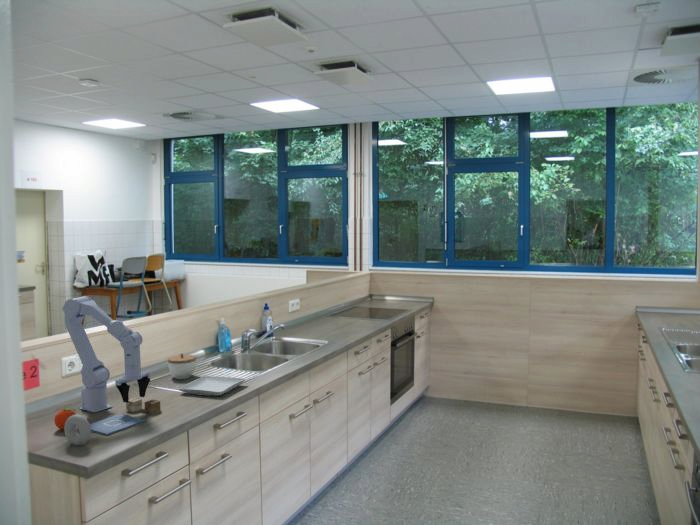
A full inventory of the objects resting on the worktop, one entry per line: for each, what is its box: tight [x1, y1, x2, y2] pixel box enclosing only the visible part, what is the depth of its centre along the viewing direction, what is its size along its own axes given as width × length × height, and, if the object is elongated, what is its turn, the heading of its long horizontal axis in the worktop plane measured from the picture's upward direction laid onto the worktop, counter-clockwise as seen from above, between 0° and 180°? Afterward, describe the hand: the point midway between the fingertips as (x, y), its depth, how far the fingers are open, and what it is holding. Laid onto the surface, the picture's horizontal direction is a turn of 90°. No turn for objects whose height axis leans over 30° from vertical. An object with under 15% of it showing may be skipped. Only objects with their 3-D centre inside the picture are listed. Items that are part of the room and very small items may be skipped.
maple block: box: [125, 397, 143, 413], centre depth 222 cm, size 4×4×4 cm
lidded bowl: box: [167, 353, 197, 380], centre depth 270 cm, size 13×13×11 cm
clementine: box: [54, 407, 77, 431], centre depth 202 cm, size 8×7×7 cm
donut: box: [63, 413, 92, 446], centre depth 186 cm, size 10×4×10 cm, turn 67°
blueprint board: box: [89, 413, 147, 437], centre depth 205 cm, size 14×16×1 cm
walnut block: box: [144, 399, 161, 415], centre depth 219 cm, size 4×4×4 cm
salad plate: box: [177, 375, 246, 397], centre depth 248 cm, size 21×21×3 cm
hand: (134, 399), depth 222 cm, fingers open, 7 cm apart
